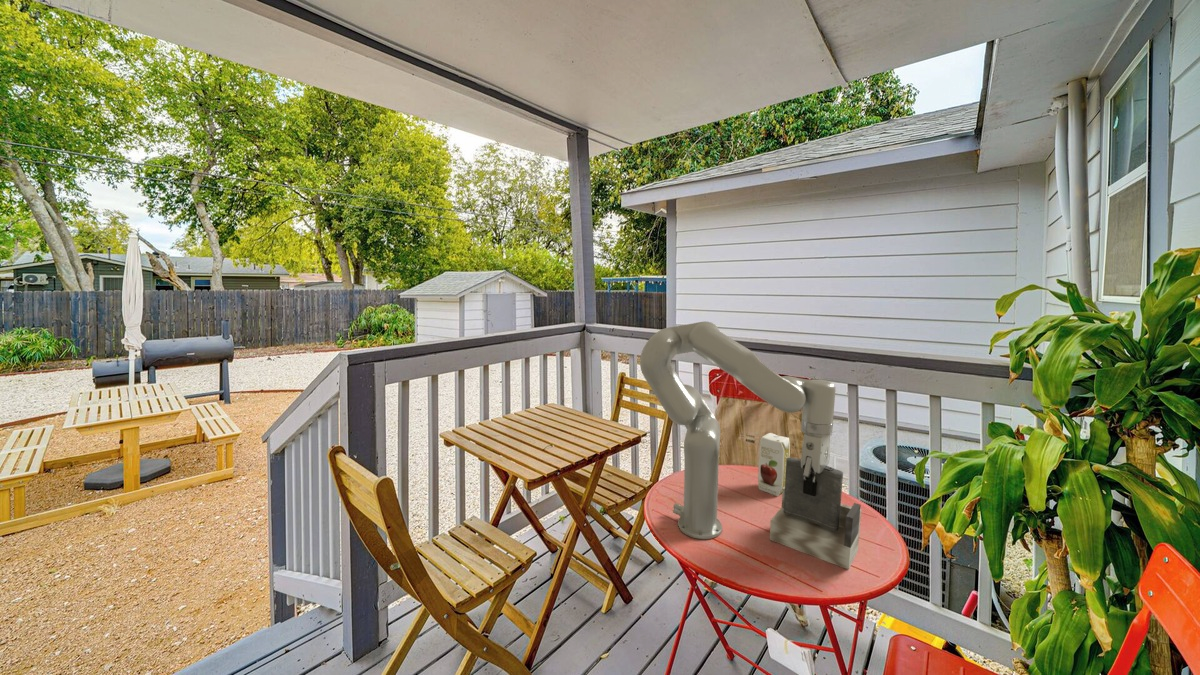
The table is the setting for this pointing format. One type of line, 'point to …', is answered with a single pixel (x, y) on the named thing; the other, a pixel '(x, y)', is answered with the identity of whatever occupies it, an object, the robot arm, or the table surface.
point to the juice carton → (773, 463)
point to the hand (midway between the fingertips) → (811, 490)
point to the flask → (809, 507)
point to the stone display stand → (820, 535)
